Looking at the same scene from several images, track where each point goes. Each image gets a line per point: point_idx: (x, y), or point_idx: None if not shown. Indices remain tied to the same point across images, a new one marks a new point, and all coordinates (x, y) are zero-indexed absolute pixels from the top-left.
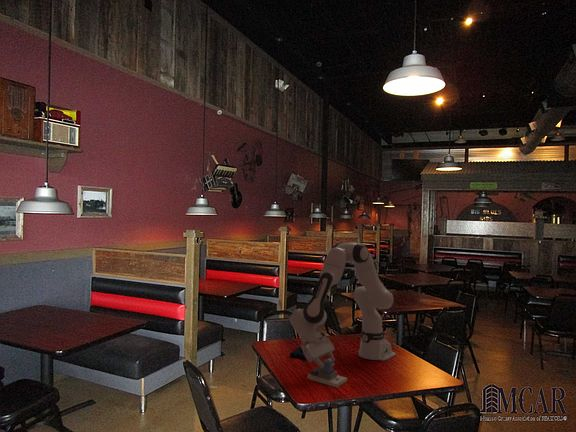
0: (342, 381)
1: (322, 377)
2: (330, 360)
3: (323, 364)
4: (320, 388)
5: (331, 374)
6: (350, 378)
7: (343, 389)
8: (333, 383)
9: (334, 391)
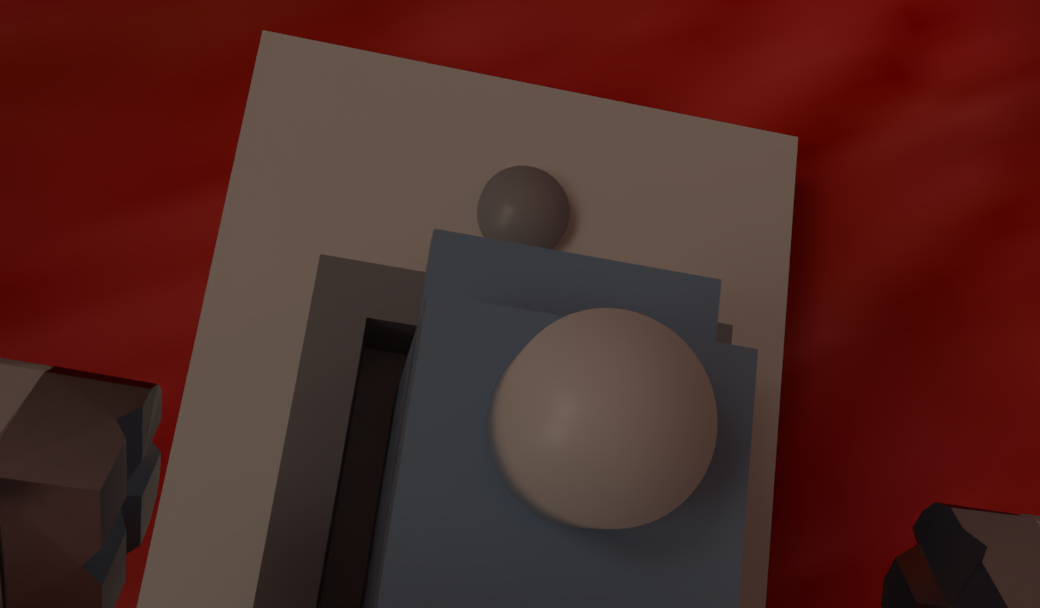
0: (505, 89)
1: None
2: (652, 339)
3: (1025, 538)
4: (1018, 446)
5: None
6: (34, 46)
7: (766, 8)
8: (789, 216)
9: (964, 134)
